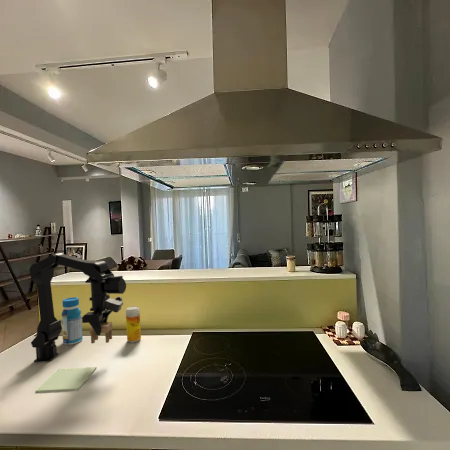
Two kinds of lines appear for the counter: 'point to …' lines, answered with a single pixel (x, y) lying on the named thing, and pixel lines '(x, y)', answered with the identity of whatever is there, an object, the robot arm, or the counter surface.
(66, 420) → the counter surface
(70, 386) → the sage board
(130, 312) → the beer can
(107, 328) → the walnut stool
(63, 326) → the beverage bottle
